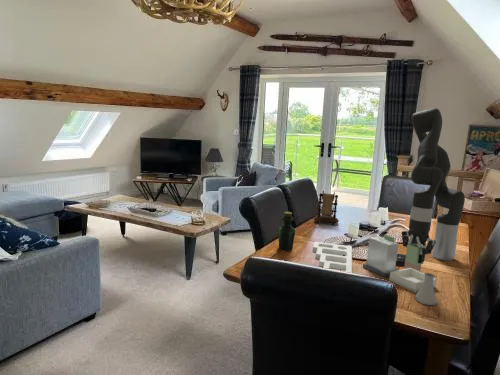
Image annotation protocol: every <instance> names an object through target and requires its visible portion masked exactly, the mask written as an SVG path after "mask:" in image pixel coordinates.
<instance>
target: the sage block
mask: <svg viewBox="0 0 500 375" xmlns="http://www.w3.org/2000/svg"><path fill="white" fill-rule="evenodd" d="M421 246H422V245H421ZM419 250H420V248H418V245H417V244H411V245H410V244H408V247H407V248H406V253H407V255H406V254H405V255H406V262H408V263H411V264H413V265H421V266H422V265H423V264H424V262H423V263H418V258H419V254H420V253H419Z"/></svg>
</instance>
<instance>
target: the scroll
mask: <svg viewBox="0 0 500 375" xmlns="http://www.w3.org/2000/svg"><path fill="white" fill-rule="evenodd" d="M318 197H319V199H318V208H317V215H316V216H314V218H313V220H314V221H315V222H316V224H317V225H319V223H321V224H329V225H332V226H335V224H339V219H338V218H337V206H338V198H339V195H338V194H336V191H333V193H327V192H325V191H324V190H322V193H319V194H318Z"/></svg>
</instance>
